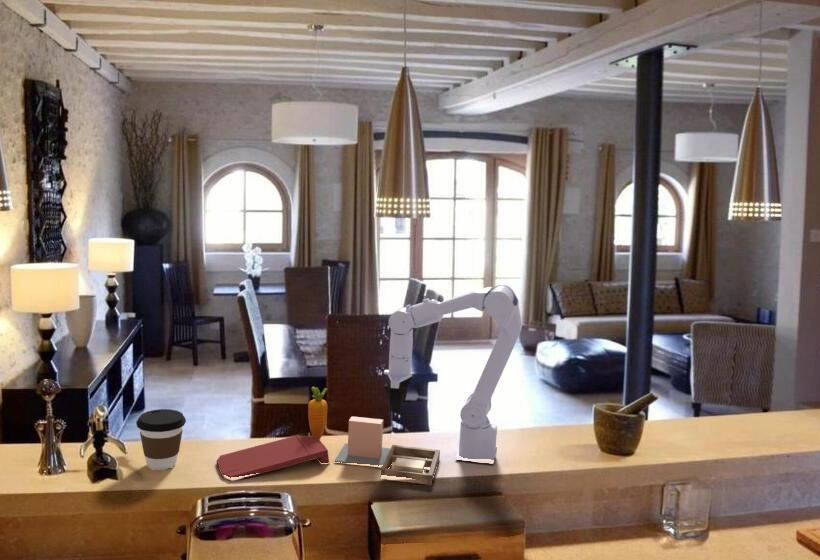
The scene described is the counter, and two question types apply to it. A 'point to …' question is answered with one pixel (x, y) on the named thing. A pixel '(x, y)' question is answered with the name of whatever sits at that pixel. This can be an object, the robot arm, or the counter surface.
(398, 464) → the offcut stack
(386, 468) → the tray
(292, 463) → the reddish-brown flat block
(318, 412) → the carrot
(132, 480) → the counter surface
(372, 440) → the pink rectangular block
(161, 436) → the coffee cup
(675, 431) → the counter surface
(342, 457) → the mat
